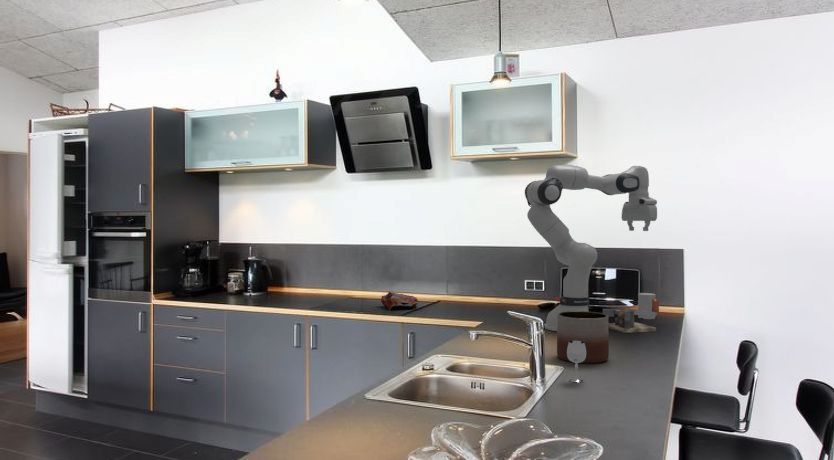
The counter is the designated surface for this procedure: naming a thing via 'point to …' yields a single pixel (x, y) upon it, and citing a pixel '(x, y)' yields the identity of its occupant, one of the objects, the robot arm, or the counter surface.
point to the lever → (616, 311)
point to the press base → (636, 328)
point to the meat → (398, 300)
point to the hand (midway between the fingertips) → (638, 230)
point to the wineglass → (576, 355)
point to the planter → (583, 334)
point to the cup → (645, 304)
